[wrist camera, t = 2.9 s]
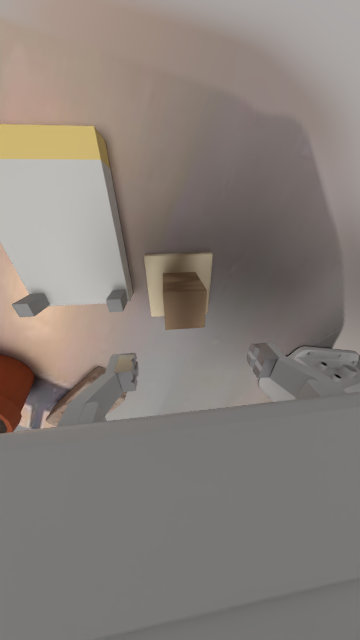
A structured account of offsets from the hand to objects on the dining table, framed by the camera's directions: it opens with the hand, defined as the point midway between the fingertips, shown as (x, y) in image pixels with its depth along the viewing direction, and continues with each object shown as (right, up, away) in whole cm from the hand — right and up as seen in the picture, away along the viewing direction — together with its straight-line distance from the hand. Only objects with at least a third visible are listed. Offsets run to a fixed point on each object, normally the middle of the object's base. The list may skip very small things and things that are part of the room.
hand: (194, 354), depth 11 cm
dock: (-14, +13, +8) cm, 21 cm away
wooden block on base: (-1, +8, +13) cm, 15 cm away
